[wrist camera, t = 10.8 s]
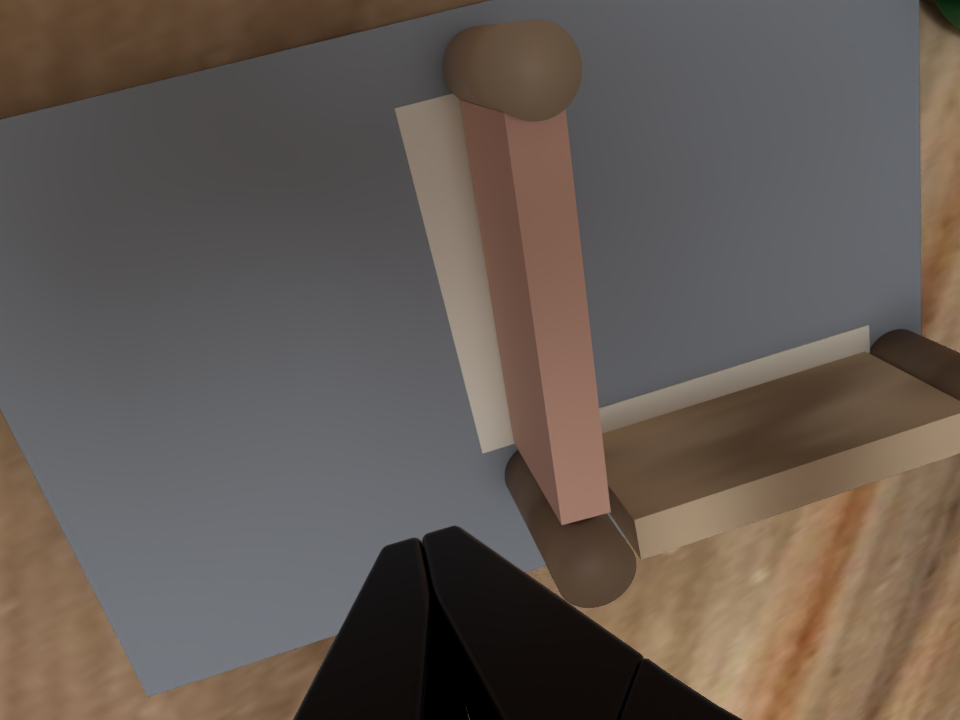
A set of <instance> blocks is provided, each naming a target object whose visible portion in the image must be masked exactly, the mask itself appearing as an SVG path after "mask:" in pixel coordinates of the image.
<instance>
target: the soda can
mask: <svg viewBox="0 0 960 720" xmlns="http://www.w3.org/2000/svg"><path fill="white" fill-rule="evenodd" d="M934 1H935V3H936V5H937V6H938V8H939V10H940V11H941V13H942V14H943V15H944V16H945V17H946V18H947V20H948V21H949V22H950V23H951V24H952V25H954V26H955V27H956V28H958V29H959V30H960V0H934Z"/></svg>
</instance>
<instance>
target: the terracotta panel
mask: <svg viewBox="0 0 960 720" xmlns="http://www.w3.org/2000/svg"><path fill="white" fill-rule="evenodd" d="M443 72H444V77H445V80H446V83H447V85H448V87H449V88H450V90H451V91H452V93H453V94H454V95H455V96H456V97H458V98H459V99H460V106H461V112H462V119H463V125H464V131H465V137H466V144H467V150H468V156H469V162H470V169H471V175H472V181H473V188H474V194H475V200H476V206H477V213H478V219H479V225H480V231H481V238H482V244H483V250H484V257H485V263H486V269H487V275H488V282H489V288H490V294H491V300H492V307H493V313H494V319H495V325H496V332H497V338H498V344H499V351H500V357H501V363H502V369H503V376H504V382H505V388H506V394H507V401H508V407H509V413H510V420H511V426H512V432H513V438H514V443H515V445H516V446H517V448H518V450H519V452H520V453H521V455H522V457H523V459H524V460H525V462H526V464H527V466H528V467H529V469H530V471H531V473H532V474H533V476H534V478H535V480H536V481H537V483H538V485H539V486H540V488H541V490H542V492H543V493H544V495H545V497H546V499H547V500H548V502H549V504H550V506H551V507H552V509H553V511H554V513H555V514H556V516H557V518H558V520H559V521H560V523H561V525H565V524H568V523H572V522H576V521H580V520H583V519H587V518H591V517H595V516H598V515H602V514H606V513H610V512H611V510H610V501H609V492H608V483H607V474H606V465H605V457H604V448H603V439H602V430H601V421H600V412H599V403H598V394H597V385H596V376H595V367H594V358H593V349H592V340H591V331H590V323H589V314H588V305H587V296H586V287H585V278H584V269H583V260H582V251H581V242H580V233H579V224H578V215H577V206H576V197H575V189H574V180H573V171H572V162H571V153H570V144H569V135H568V126H567V117H566V108H567V107H568V106H569V105H570V103H571V102H572V101H573V99H574V98H575V96H576V94H577V92H578V90H579V87H580V84H581V79H582V59H581V54H580V51H579V48H578V46H577V44H576V42H575V41H574V39H573V38H572V36H571V35H570V34H569V33H568V32H567V31H566V30H565V29H564V28H562V27H561V26H560V25H558V24H556V23H554V22H551V21H548V20H543V19H533V20H524V21H516V22H508V23H500V24H492V25H484V26H475V27H471V28H468V29H465V30H463V31H461V32H460V33H459V34H457V35H456V36H455V37H454V38H453V39H452V41H451V42H450V43H449V45H448V47H447V49H446V52H445V55H444V60H443Z"/></svg>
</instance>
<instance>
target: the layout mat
mask: <svg viewBox="0 0 960 720" xmlns="http://www.w3.org/2000/svg"><path fill="white" fill-rule="evenodd" d="M533 19H543V20H548V21H551V22H554V23H556V24H558V25H560V26H561V27H562V28H564V29H565V30H566V31H567V32H568V33H569V34H570V35H571V36H572V38H573V39H574V41H575V42H576V44H577V46H578V48H579V51H580V54H581V59H582V79H581V84H580V87H579V90H578V92H577V94H576V96H575V98H574V99H573V101H572V102H571V103H570V105H569V106H568V107H567V108H566V117H567V126H568V135H569V144H570V153H571V162H572V171H573V180H574V189H575V197H576V206H577V215H578V224H579V233H580V242H581V251H582V260H583V269H584V278H585V287H586V296H587V305H588V314H589V323H590V331H591V340H592V349H593V358H594V367H595V376H596V385H597V394H598V403H599V412H600V421H601V430H602V434H603V433H606V432H609V431H612V430H616V429H619V428H622V427H625V426H628V425H632V424H635V423H638V422H641V421H644V420H648V419H651V418H654V417H657V416H660V415H664V414H667V413H670V412H673V411H676V410H680V409H683V408H686V407H689V406H692V405H695V404H699V403H702V402H705V401H708V400H711V399H715V398H718V397H721V396H724V395H727V394H731V393H734V392H737V391H740V390H743V389H747V388H750V387H753V386H756V385H759V384H762V383H766V382H769V381H772V380H775V379H778V378H782V377H785V376H788V375H791V374H794V373H798V372H801V371H804V370H807V369H810V368H814V367H817V366H820V365H823V364H826V363H829V362H833V361H836V360H839V359H842V358H845V357H849V356H852V355H855V354H858V353H861V352H867V353H870V348H871V346H872V345H873V344H874V343H875V341H876V340H877V339H878V338H880V337H881V336H882V335H884V334H885V333H887V332H889V331H892V330H896V329H906V330H909V331H912V332H914V333H916V334H918V335H921V336H922V316H921V189H920V62H919V0H489V1H485V2H481V3H477V4H473V5H469V6H465V7H460V8H456V9H452V10H448V11H444V12H440V13H436V14H432V15H428V16H424V17H419V18H415V19H411V20H407V21H403V22H399V23H395V24H391V25H387V26H382V27H378V28H374V29H370V30H366V31H362V32H358V33H354V34H350V35H346V36H341V37H337V38H333V39H329V40H325V41H321V42H317V43H313V44H309V45H304V46H300V47H296V48H292V49H288V50H284V51H280V52H276V53H272V54H268V55H263V56H259V57H255V58H251V59H247V60H243V61H239V62H235V63H231V64H227V65H222V66H218V67H214V68H210V69H206V70H202V71H198V72H194V73H190V74H185V75H181V76H177V77H173V78H169V79H165V80H161V81H157V82H153V83H149V84H144V85H140V86H136V87H132V88H128V89H124V90H120V91H116V92H112V93H107V94H103V95H99V96H95V97H91V98H87V99H83V100H79V101H75V102H71V103H66V104H62V105H58V106H54V107H50V108H46V109H42V110H38V111H34V112H30V113H25V114H21V115H17V116H13V117H9V118H5V119H1V120H0V410H1V412H2V413H3V415H4V417H5V419H6V421H7V423H8V425H9V427H10V429H11V431H12V433H13V435H14V437H15V439H16V441H17V443H18V445H19V447H20V449H21V451H22V452H23V454H24V456H25V458H26V460H27V462H28V464H29V466H30V468H31V470H32V472H33V474H34V476H35V478H36V480H37V482H38V484H39V486H40V488H41V490H42V491H43V493H44V495H45V497H46V499H47V501H48V503H49V505H50V507H51V509H52V511H53V513H54V515H55V517H56V519H57V521H58V523H59V525H60V527H61V528H62V530H63V532H64V534H65V536H66V538H67V540H68V542H69V544H70V546H71V548H72V550H73V552H74V554H75V556H76V558H77V560H78V562H79V564H80V566H81V567H82V569H83V571H84V573H85V575H86V577H87V579H88V581H89V583H90V585H91V587H92V589H93V591H94V593H95V595H96V597H97V599H98V601H99V603H100V604H101V606H102V608H103V610H104V612H105V614H106V616H107V618H108V620H109V622H110V624H111V626H112V628H113V630H114V632H115V634H116V636H117V638H118V640H119V642H120V643H121V645H122V647H123V649H124V651H125V653H126V655H127V657H128V659H129V661H130V663H131V665H132V667H133V669H134V671H135V673H136V675H137V677H138V679H139V680H140V682H141V684H142V686H143V688H144V690H145V692H146V694H147V696H148V697H150V696H153V695H156V694H159V693H162V692H165V691H168V690H171V689H174V688H177V687H180V686H183V685H187V684H190V683H193V682H196V681H199V680H202V679H205V678H208V677H211V676H214V675H217V674H220V673H223V672H226V671H229V670H232V669H235V668H238V667H241V666H244V665H247V664H250V663H253V662H256V661H259V660H262V659H265V658H268V657H271V656H274V655H277V654H280V653H283V652H286V651H289V650H292V649H295V648H298V647H301V646H304V645H308V644H311V643H314V642H317V641H320V640H323V639H326V638H329V637H332V636H335V635H337V634H338V632H339V630H340V628H341V626H342V624H343V623H344V621H345V619H346V617H347V615H348V613H349V611H350V609H351V607H352V605H353V603H354V601H355V599H356V597H357V596H358V594H359V592H360V590H361V588H362V586H363V584H364V582H365V580H366V578H367V576H368V574H369V572H370V570H371V569H372V567H373V565H374V563H375V561H376V559H377V557H378V555H379V553H380V551H381V550H382V548H383V547H385V546H386V545H389V544H393V543H396V542H400V541H403V540H406V539H410V538H415V537H416V538H419V539H420V540H421V542H422V538H423V536H424V535H425V534H427V533H430V532H433V531H437V530H440V529H443V528H447V527H450V526H454V525H456V526H459V527H461V528H462V529H464V530H465V531H467V532H468V533H469V534H471V535H472V536H474V537H475V538H477V539H478V540H479V541H481V542H482V543H484V544H485V545H486V546H488V547H489V548H491V549H492V550H494V551H495V552H496V553H498V554H499V555H501V556H502V557H504V558H505V559H506V560H508V561H509V562H511V563H512V564H514V565H515V566H516V567H518V568H519V569H521V570H522V571H523V572H528V571H531V570H534V569H537V568H540V567H543V566H546V564H545V562H544V560H543V558H542V556H541V554H540V552H539V550H538V548H537V546H536V544H535V542H534V540H533V538H532V536H531V534H530V532H529V530H528V528H527V526H526V524H525V522H524V520H523V518H522V516H521V514H520V512H519V510H518V508H517V506H516V504H515V502H514V500H513V498H512V496H511V494H510V492H509V490H508V488H507V486H506V483H505V469H506V465H507V463H508V461H509V459H510V458H511V456H512V455H513V454H514V453H515V452H516V451H517V450H518V448H517V446H516V445H515V443H514V438H513V432H512V426H511V420H510V413H509V407H508V401H507V394H506V388H505V382H504V376H503V369H502V363H501V357H500V351H499V344H498V338H497V332H496V325H495V319H494V313H493V307H492V300H491V294H490V288H489V282H488V275H487V269H486V263H485V257H484V250H483V244H482V238H481V231H480V225H479V219H478V213H477V206H476V200H475V194H474V188H473V181H472V175H471V169H470V162H469V156H468V150H467V144H466V137H465V131H464V125H463V119H462V112H461V106H460V99H459V98H458V97H456V96H455V95H454V94H453V93H452V91H451V90H450V88H449V87H448V85H447V83H446V80H445V77H444V72H443V60H444V55H445V52H446V49H447V47H448V45H449V43H450V42H451V41H452V39H453V38H454V37H455V36H456V35H457V34H459V33H460V32H461V31H463V30H465V29H468V28H471V27H475V26H484V25H492V24H500V23H508V22H516V21H524V20H533ZM607 514H608V516H609V517H610V519H611V520H612V522H613V523H614V524H615V526H616V527H617V529H618V530H619V532H620V533H621V535H622V536H623V538H624V539H627V538H626V537H625V535H624V534H623V533H622V531H621V530H620V528H619V527H618V525H617V524H616V522H615V521H614V520H613V518H612V517H611V515H610V514H609V513H607ZM422 545H423V544H422Z"/></svg>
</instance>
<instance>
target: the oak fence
mask: <svg viewBox="0 0 960 720" xmlns="http://www.w3.org/2000/svg"><path fill="white" fill-rule="evenodd" d="M602 439H603V448H604V457H605V465H606V474H607V483H608V492H609V501H610V510H611V512H610V513H609V514H610V515H611V517H612V518H613V520H614V521H615V522H616V524H617V525H618V527H619V528H620V530H621V531H622V533H623V534H624V535H625V537H626V538H627V540H628V541H629V543H630V544H631V546H632V547H633V549H634V550H635V551H636V553H637V554H638V556H639V557H640V559H641V560H643V559H646V558H649V557H652V556H655V555H658V554H661V553H664V552H667V551H670V550H673V549H676V548H679V547H682V546H685V545H688V544H691V543H694V542H697V541H700V540H703V539H706V538H709V537H712V536H714V535H717V534H720V533H723V532H726V531H729V530H732V529H735V528H738V527H741V526H744V525H747V524H750V523H753V522H756V521H759V520H762V519H765V518H768V517H771V516H774V515H777V514H780V513H783V512H786V511H789V510H792V509H795V508H798V507H801V506H804V505H807V504H810V503H813V502H816V501H819V500H822V499H825V498H828V497H831V496H834V495H837V494H840V493H843V492H846V491H849V490H852V489H855V488H858V487H861V486H864V485H867V484H870V483H873V482H876V481H879V480H882V479H885V478H888V477H891V476H894V475H897V474H900V473H903V472H906V471H909V470H912V469H915V468H918V467H921V466H924V465H927V464H930V463H933V462H936V461H939V460H942V459H945V458H948V457H951V456H954V455H957V454H960V353H958V352H956V351H954V350H952V349H949V348H947V347H945V346H943V345H941V344H938V343H936V342H934V341H932V340H929V339H927V338H925V337H923V336H921V335H918V334H916V333H914V332H912V331H909V330H906V329H896V330H892V331H889V332H887V333H885V334H884V335H882V336H881V337H880V338H878V339H877V340H876V341H875V343H874V344H873V345H872V346H871V348H870V353H867V352H861V353H858V354H855V355H852V356H849V357H845V358H842V359H839V360H836V361H833V362H829V363H826V364H823V365H820V366H817V367H814V368H810V369H807V370H804V371H801V372H798V373H794V374H791V375H788V376H785V377H782V378H778V379H775V380H772V381H769V382H766V383H762V384H759V385H756V386H753V387H750V388H747V389H743V390H740V391H737V392H734V393H731V394H727V395H724V396H721V397H718V398H715V399H711V400H708V401H705V402H702V403H699V404H695V405H692V406H689V407H686V408H683V409H680V410H676V411H673V412H670V413H667V414H664V415H660V416H657V417H654V418H651V419H648V420H644V421H641V422H638V423H635V424H632V425H628V426H625V427H622V428H619V429H616V430H612V431H609V432H606V433H603V434H602ZM505 483H506V486H507V488H508V490H509V492H510V494H511V496H512V498H513V500H514V502H515V504H516V506H517V508H518V510H519V512H520V514H521V516H522V518H523V520H524V522H525V524H526V526H527V528H528V530H529V532H530V534H531V536H532V538H533V540H534V542H535V544H536V546H537V548H538V550H539V552H540V554H541V556H542V558H543V560H544V562H545V564H546V566H547V568H548V570H549V572H550V574H551V576H552V578H553V580H554V582H555V584H556V586H557V588H558V590H559V592H560V594H561V595H562V596H563V598H564V599H565V600H566V601H568V602H569V603H571V604H573V605H575V606H578V607H583V608H594V607H599V606H603V605H606V604H608V603H610V602H612V601H614V600H615V599H617V598H618V597H619V596H621V595H622V594H623V593H624V592H625V591H626V590H627V588H628V587H629V586H630V584H631V583H632V580H633V578H634V576H635V572H636V558H635V555H634V553H633V551H632V549H631V548H630V546H629V545H628V543H627V542H626V540H625V539H624V538H623V536H622V535H621V533H620V532H619V530H618V529H617V527H616V526H615V524H614V523H613V522H612V520H611V519H610V517H609V516H608V514H607V513H606V514H602V515H598V516H595V517H591V518H587V519H583V520H580V521H576V522H572V523H568V524H565V525H561V523H560V521H559V520H558V518H557V516H556V514H555V513H554V511H553V509H552V507H551V506H550V504H549V502H548V500H547V499H546V497H545V495H544V493H543V492H542V490H541V488H540V486H539V485H538V483H537V481H536V480H535V478H534V476H533V474H532V473H531V471H530V469H529V467H528V466H527V464H526V462H525V460H524V459H523V457H522V455H521V453H520V452H519V450H517V451H516V452H515V453H514V454H513V455H512V456H511V458H510V459H509V461H508V463H507V465H506V469H505Z"/></svg>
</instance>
